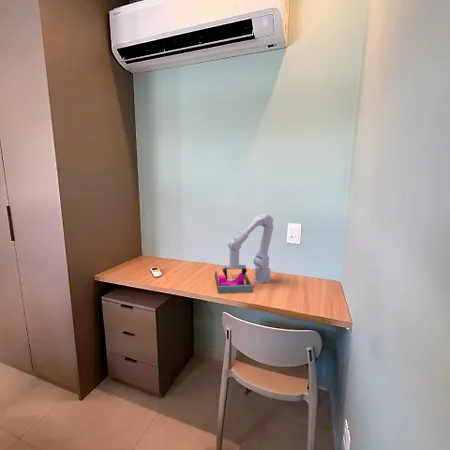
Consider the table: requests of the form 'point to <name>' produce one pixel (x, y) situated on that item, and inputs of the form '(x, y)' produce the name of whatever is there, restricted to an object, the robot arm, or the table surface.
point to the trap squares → (231, 275)
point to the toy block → (237, 281)
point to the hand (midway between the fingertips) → (234, 279)
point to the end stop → (235, 289)
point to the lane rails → (218, 280)
